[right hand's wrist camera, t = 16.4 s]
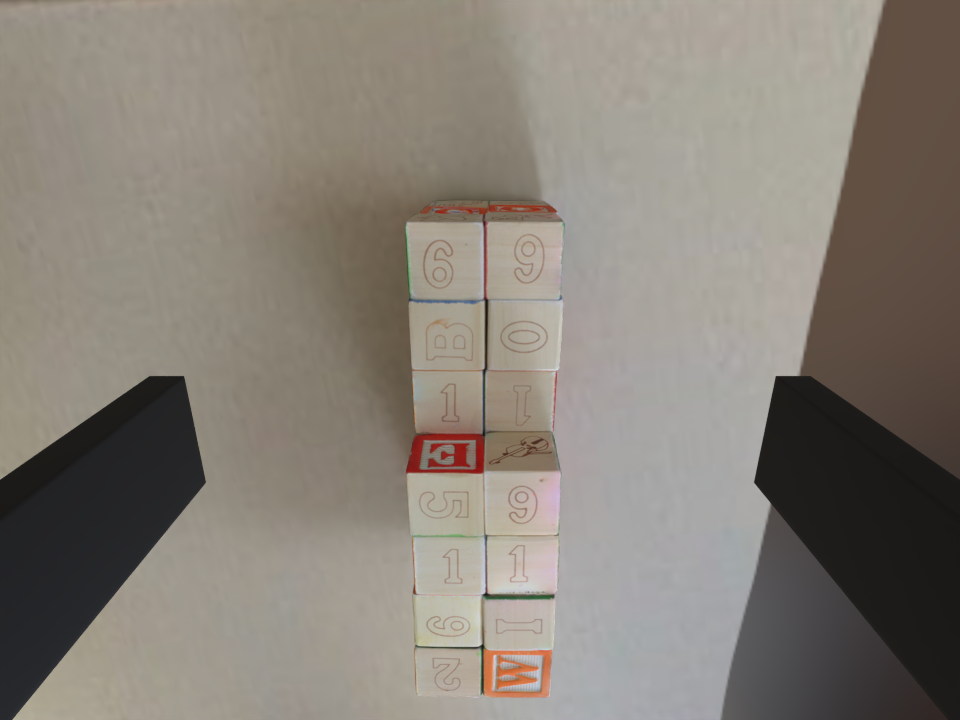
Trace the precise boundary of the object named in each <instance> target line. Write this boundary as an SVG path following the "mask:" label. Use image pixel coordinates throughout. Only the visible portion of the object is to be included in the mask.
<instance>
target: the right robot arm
mask: <svg viewBox="0 0 960 720" xmlns="http://www.w3.org/2000/svg"><path fill="white" fill-rule="evenodd" d="M205 483H206V481H205V476H204V471H203V466H202V461H201V456H200V451H199V446H198V442H197V437H196V432H195V427H194V422H193V417H192V412H191V408H190V403H189V398H188V393H187V388H186V383H185V378H184V376H149V377H148V378H146V379H145V380H143V381H142V382H140V383H139V384H138V385H136V386H135V387H133V388H132V389H130V390H129V391H127V392H126V393H125V394H123V395H122V396H120V397H119V398H117V399H116V400H114V401H113V402H112V403H110V404H109V405H107V406H106V407H104V408H103V409H101V410H100V411H99V412H97V413H96V414H94V415H93V416H91V417H90V418H89V419H87V420H86V421H84V422H83V423H81V424H80V425H78V426H77V427H76V428H74V429H73V430H71V431H70V432H68V433H67V434H65V435H64V436H63V437H61V438H60V439H58V440H57V441H55V442H54V443H52V444H51V445H50V446H48V447H47V448H45V449H44V450H42V451H41V452H39V453H38V454H37V455H35V456H34V457H32V458H31V459H29V460H28V461H27V462H25V463H24V464H22V465H21V466H19V467H18V468H16V469H15V470H14V471H12V472H11V473H9V474H8V475H6V476H5V477H3V478H2V479H1V480H0V720H12V719H13V718H14V717H15V716H16V714H17V713H18V712H19V711H20V710H21V708H22V707H23V706H24V705H25V703H26V702H27V701H28V700H29V699H30V697H31V696H32V695H33V694H34V692H35V691H36V690H37V689H38V688H39V686H40V685H41V684H42V683H43V681H44V680H45V679H46V678H47V676H48V675H49V674H50V673H51V672H52V670H53V669H54V668H55V667H56V665H57V664H58V663H59V662H60V661H61V659H62V658H63V657H64V656H65V654H66V653H67V652H68V651H69V650H70V648H71V647H72V646H73V645H74V643H75V642H76V641H77V640H78V639H79V637H80V636H81V635H82V634H83V632H84V631H85V630H86V629H87V628H88V626H89V625H90V624H91V623H92V621H93V620H94V619H95V618H96V616H97V615H98V614H99V613H100V612H101V610H102V609H103V608H104V607H105V605H106V604H107V603H108V602H109V601H110V599H111V598H112V597H113V596H114V594H115V593H116V592H117V591H118V590H119V588H120V587H121V586H122V585H123V583H124V582H125V581H126V580H127V579H128V577H129V576H130V575H131V574H132V572H133V571H134V570H135V569H136V568H137V566H138V565H139V564H140V563H141V561H142V560H143V559H144V558H145V556H146V555H147V554H148V553H149V552H150V550H151V549H152V548H153V547H154V545H155V544H156V543H157V542H158V541H159V539H160V538H161V537H162V536H163V534H164V533H165V532H166V531H167V530H168V528H169V527H170V526H171V525H172V523H173V522H174V521H175V520H176V519H177V517H178V516H179V515H180V514H181V512H182V511H183V510H184V509H185V508H186V506H187V505H188V504H189V503H190V501H191V500H192V499H193V498H194V497H195V495H196V494H197V493H198V492H199V490H200V489H201V488H202V487H203V485H204V484H205ZM754 483H755V484H756V485H757V487H758V488H759V489H760V490H761V492H762V493H763V494H764V495H765V497H766V498H767V499H768V500H769V501H770V503H771V504H772V505H773V506H774V508H775V509H776V510H777V511H778V512H779V514H780V515H781V516H782V517H783V519H784V520H785V521H786V522H787V523H788V525H789V526H790V527H791V528H792V530H793V531H794V532H795V533H796V534H797V536H798V537H799V538H800V539H801V541H802V542H803V543H804V544H805V545H806V547H807V548H808V549H809V550H810V552H811V553H812V554H813V555H814V556H815V558H816V559H817V560H818V561H819V563H820V564H821V565H822V566H823V568H824V569H825V570H826V571H827V572H828V574H829V575H830V576H831V577H832V579H833V580H834V581H835V582H836V583H837V585H838V586H839V587H840V588H841V590H842V591H843V592H844V593H845V594H846V596H847V597H848V598H849V599H850V601H851V602H852V603H853V604H854V605H855V607H856V608H857V609H858V610H859V612H860V613H861V614H862V615H863V616H864V618H865V619H866V620H867V621H868V623H869V624H870V625H871V626H872V627H873V629H874V630H875V631H876V632H877V634H878V635H879V636H880V637H881V639H882V640H883V641H884V642H885V643H886V645H887V646H888V647H889V648H890V649H891V651H892V652H893V653H894V654H895V656H896V657H897V658H898V659H899V661H900V662H901V663H902V664H903V665H904V667H905V668H906V669H907V670H908V672H909V673H910V674H911V675H912V676H913V678H914V679H915V680H916V681H917V683H918V684H919V685H920V686H921V688H922V689H923V690H924V691H925V692H926V694H927V695H928V696H929V697H930V698H931V700H932V701H933V702H934V703H935V705H936V706H937V707H938V708H939V709H940V711H941V712H942V713H943V714H944V716H945V717H946V718H947V719H948V720H960V480H959V479H958V478H956V477H955V476H954V475H952V474H951V473H949V472H948V471H946V470H945V469H944V468H942V467H941V466H939V465H938V464H936V463H935V462H933V461H932V460H931V459H929V458H928V457H926V456H925V455H923V454H922V453H920V452H919V451H918V450H916V449H915V448H913V447H912V446H910V445H909V444H908V443H906V442H905V441H903V440H902V439H900V438H899V437H897V436H896V435H895V434H893V433H892V432H890V431H889V430H887V429H886V428H884V427H883V426H882V425H880V424H879V423H877V422H876V421H874V420H873V419H871V418H870V417H869V416H867V415H866V414H864V413H863V412H861V411H860V410H859V409H857V408H856V407H854V406H853V405H851V404H850V403H848V402H847V401H846V400H844V399H843V398H841V397H840V396H838V395H837V394H835V393H834V392H832V391H831V390H830V389H828V388H827V387H825V386H824V385H822V384H821V383H820V382H818V381H817V380H815V379H814V378H812V377H811V376H776V378H775V383H774V388H773V393H772V398H771V403H770V408H769V412H768V417H767V422H766V427H765V432H764V437H763V442H762V446H761V451H760V456H759V461H758V466H757V471H756V476H755V481H754Z"/></svg>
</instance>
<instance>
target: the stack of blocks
mask: <svg viewBox="0 0 960 720" xmlns="http://www.w3.org/2000/svg"><path fill="white" fill-rule="evenodd" d="M564 229H565V224H564V222H563V220H562V219H561V218H560V217H559V216H558V212H557V211H556V210H555V209H554V208H553V207H552V206H550V205H549V204H547V203H546V202H544V201H480V200H447V201H433V202H431V203H430V204H429V205H428V206H426V207H425V208H424V209H423V210H422V211H421V212H420V213H419V214H415V215H414V216H412V217H411V218H410V219H409V220H408V221H407V222H406V223H405V234H406V251H407V269H408V285H409V294H410V299H409V302H408V310H409V328H410V347H411V365H412V394H413V407H414V423H415V430H416V432H417V433H416V435H415V437H414V440H413V443H412V449H411V453H410V457H409V461H408V465H407V470H406V483H407V497H408V512H409V527H410V534H411V535H412V544H413V564H414V588H413V614H414V634H415V650H414V653H415V680H416V693H417V695H419V696H446V697H472V698H479V697H480V696H481V694H482V693H483V694H484V696H486V697H494V698H495V697H548V696H550V682H551V664H552V649H553V647H554V625H555V595H554V593H556V591H557V590H558V568H559V533H558V532H559V521H560V495H561V470H560V465H559V460H558V455H557V450H556V445H555V440H554V436H553V430H554V414H555V396H556V381H557V370H558V369H559V367H560V354H561V340H562V320H563V298H562V296H561V282H562V264H563V246H564Z"/></svg>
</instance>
